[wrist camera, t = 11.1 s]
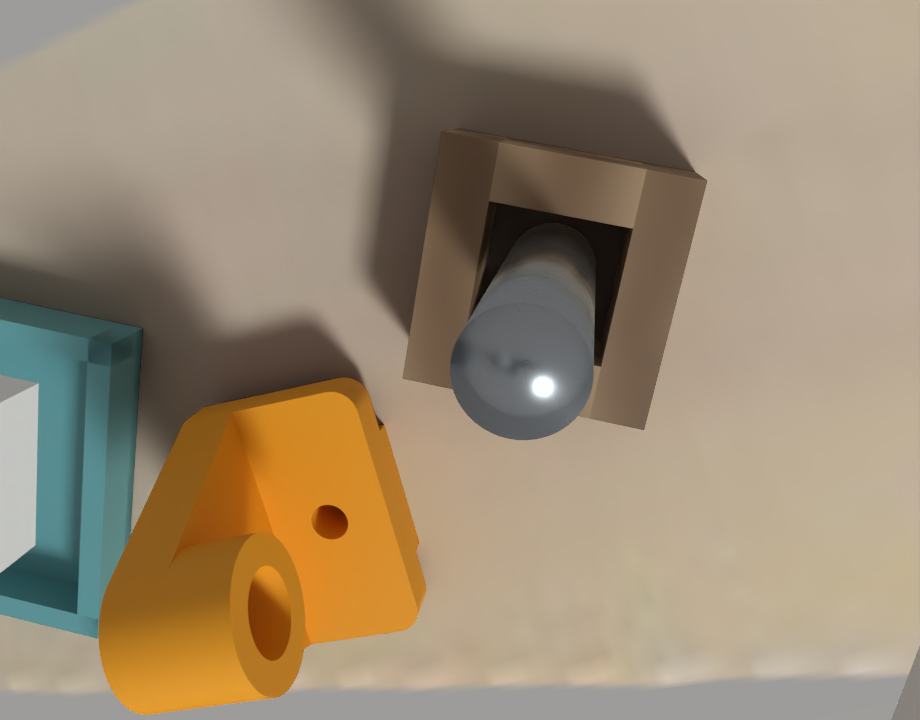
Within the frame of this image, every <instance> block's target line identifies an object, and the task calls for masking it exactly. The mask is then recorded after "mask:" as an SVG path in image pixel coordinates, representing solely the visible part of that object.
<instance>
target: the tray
mask: <svg viewBox="0 0 920 720" xmlns="http://www.w3.org/2000/svg"><path fill="white" fill-rule="evenodd" d="M142 333H143V328H138V327H134V326H129V325H124V324H120V323H115V322H110V321H106V320H101V319H96V318H92V317H87V316H82V315H78V314H73V313H68V312H64V311H59V310H54V309H50V308H45V307H40V306H36V305H31V304H26V303H22V302H17V301H12V300H8V299H3V298H0V375H3V376H7V377H12V378H17V379H21V380H26V381H30V382H35V383H39V388H38V439H37V490H36V540H35V546H34V547H33V548H31V549H30V550H29V551H28V552H26V553H25V554H24V555H22V556H21V557H20V558H19V559H17V560H16V561H15V562H14V563H12V564H11V565H10V566H9V567H7V568H6V569H5V570H3V571H2V572H1V573H0V614H2V615H6V616H10V617H14V618H18V619H22V620H26V621H30V622H34V623H38V624H42V625H46V626H50V627H54V628H58V629H62V630H66V631H70V632H74V633H78V634H82V635H86V636H90V637H94V638H98V637H99V617H100V610H101V605H102V601H103V597H104V594H105V591H106V588H107V586H108V583H109V581H110V579H111V577H112V575H113V573H114V570H115V568H116V566H117V564H118V562H119V560H120V558H121V555H122V553H123V551H124V549H125V547H126V545H127V543H128V541H129V538H130V531H131V514H132V498H133V481H134V465H135V448H136V432H137V415H138V399H139V382H140V366H141V349H142Z"/></svg>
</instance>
